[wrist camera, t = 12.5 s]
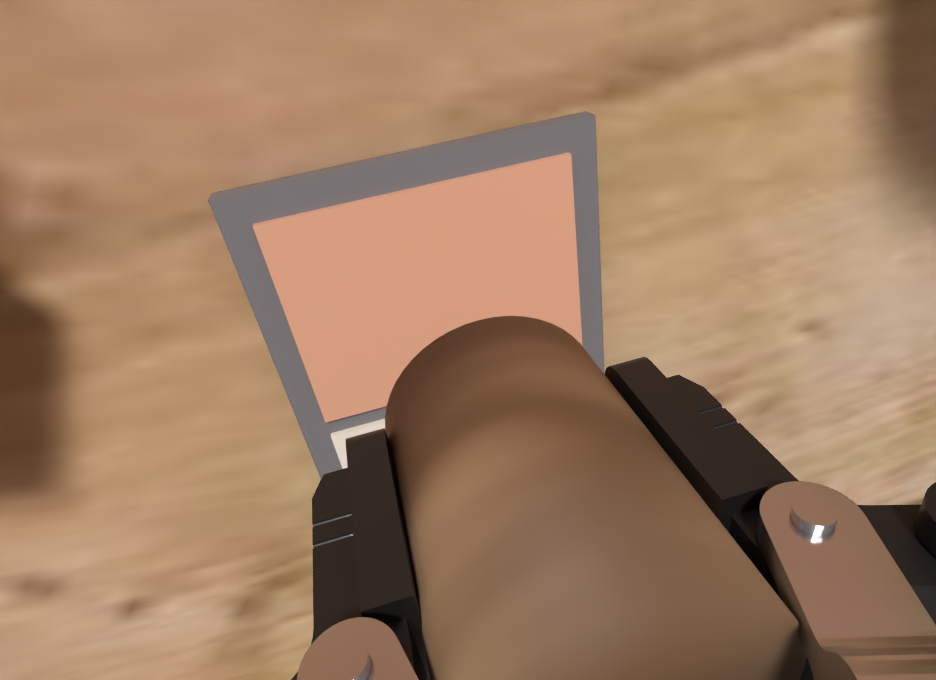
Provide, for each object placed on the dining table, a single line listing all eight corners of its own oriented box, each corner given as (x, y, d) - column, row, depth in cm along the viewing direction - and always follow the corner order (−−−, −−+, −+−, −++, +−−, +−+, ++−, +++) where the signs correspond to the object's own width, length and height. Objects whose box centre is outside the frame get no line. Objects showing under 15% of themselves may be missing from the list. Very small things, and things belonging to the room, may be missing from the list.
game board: (400, 665, 26) (402, 683, 26) (211, 193, 15) (207, 202, 14) (606, 597, 27) (614, 613, 27) (586, 111, 16) (598, 116, 15)
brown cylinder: (410, 516, 13) (477, 860, 8) (359, 350, 10) (410, 688, 5) (599, 461, 13) (780, 749, 8) (592, 290, 11) (840, 548, 6)
